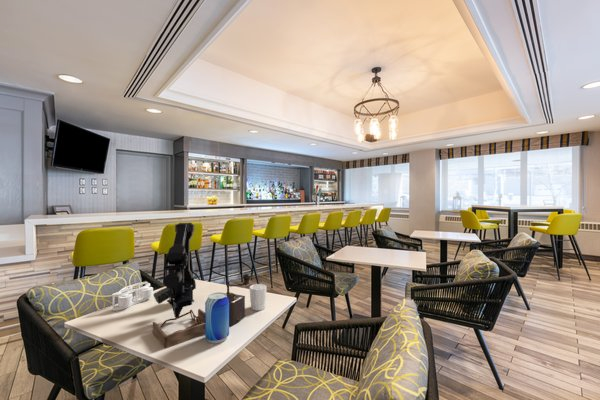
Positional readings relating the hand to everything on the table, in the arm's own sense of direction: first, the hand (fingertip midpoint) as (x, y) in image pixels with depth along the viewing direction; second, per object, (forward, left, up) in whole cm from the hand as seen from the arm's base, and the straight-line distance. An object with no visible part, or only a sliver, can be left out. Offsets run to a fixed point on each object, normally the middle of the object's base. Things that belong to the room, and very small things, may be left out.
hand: (176, 317), depth 114 cm
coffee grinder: (-19, +13, -2) cm, 23 cm away
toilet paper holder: (+9, -36, -2) cm, 37 cm away
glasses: (+1, +7, -2) cm, 8 cm away
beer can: (-6, +25, -2) cm, 26 cm away
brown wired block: (+1, +11, -2) cm, 11 cm away
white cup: (-33, +12, -2) cm, 35 cm away
